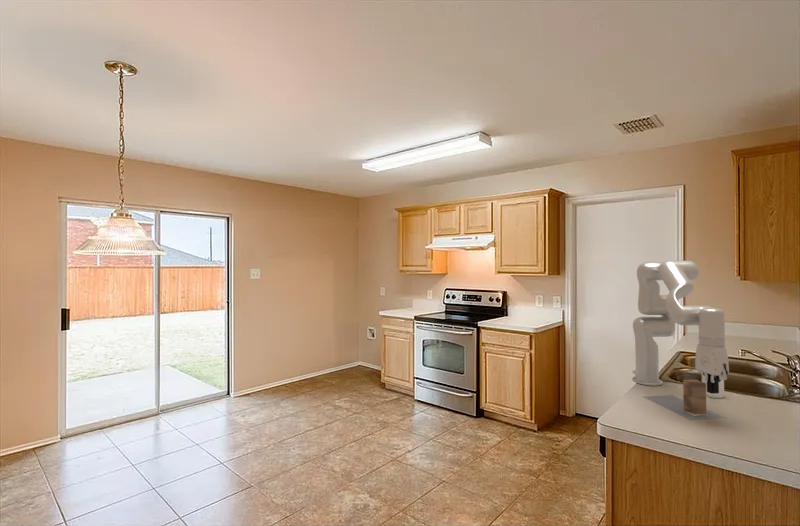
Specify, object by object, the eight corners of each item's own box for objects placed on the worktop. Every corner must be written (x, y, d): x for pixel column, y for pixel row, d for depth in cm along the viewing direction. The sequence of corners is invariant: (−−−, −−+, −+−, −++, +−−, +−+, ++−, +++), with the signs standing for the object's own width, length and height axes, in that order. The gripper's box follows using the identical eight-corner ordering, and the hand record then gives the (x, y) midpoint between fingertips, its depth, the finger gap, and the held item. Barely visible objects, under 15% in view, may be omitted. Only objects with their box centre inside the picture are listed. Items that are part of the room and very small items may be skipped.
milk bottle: (728, 398, 173) (728, 351, 173) (710, 398, 173) (709, 351, 173) (715, 392, 180) (714, 347, 180) (697, 393, 180) (696, 347, 180)
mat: (642, 397, 176) (642, 396, 176) (672, 396, 177) (672, 395, 177) (690, 420, 150) (690, 419, 150) (725, 419, 151) (725, 417, 151)
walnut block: (683, 410, 159) (683, 380, 159) (695, 410, 159) (695, 379, 159) (694, 415, 154) (693, 383, 154) (706, 414, 154) (705, 383, 154)
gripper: (686, 338, 155) (687, 387, 155) (720, 346, 141) (721, 399, 140) (704, 338, 156) (705, 386, 156) (740, 345, 141) (741, 398, 141)
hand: (712, 392), depth 148 cm, fingers closed
